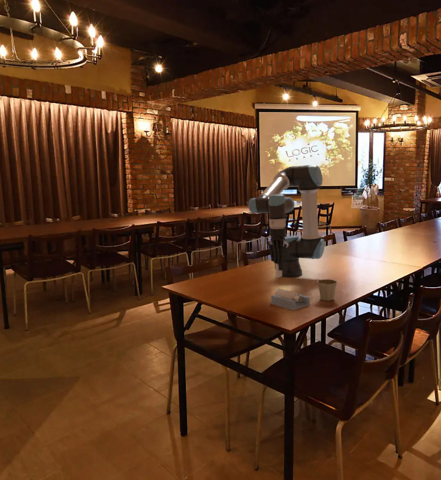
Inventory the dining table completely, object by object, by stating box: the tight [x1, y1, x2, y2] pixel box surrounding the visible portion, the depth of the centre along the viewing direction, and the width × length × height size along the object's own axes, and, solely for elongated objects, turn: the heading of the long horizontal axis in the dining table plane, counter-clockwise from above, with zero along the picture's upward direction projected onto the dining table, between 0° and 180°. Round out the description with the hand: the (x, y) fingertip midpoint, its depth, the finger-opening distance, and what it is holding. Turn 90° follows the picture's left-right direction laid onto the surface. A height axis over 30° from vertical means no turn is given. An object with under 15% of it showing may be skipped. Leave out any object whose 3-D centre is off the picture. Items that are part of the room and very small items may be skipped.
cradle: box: [270, 293, 311, 311], centre depth 183 cm, size 14×11×4 cm
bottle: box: [274, 288, 304, 303], centre depth 184 cm, size 5×5×15 cm
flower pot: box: [316, 278, 338, 302], centre depth 188 cm, size 9×9×9 cm
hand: (278, 276), depth 187 cm, fingers closed
